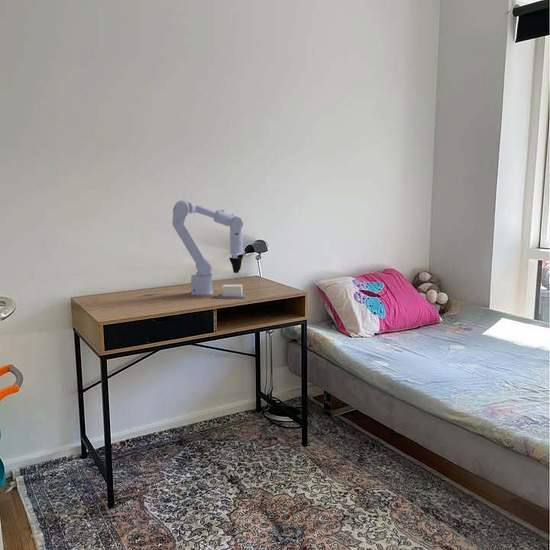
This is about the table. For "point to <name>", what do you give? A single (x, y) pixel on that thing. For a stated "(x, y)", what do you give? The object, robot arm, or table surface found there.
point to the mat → (230, 296)
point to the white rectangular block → (232, 290)
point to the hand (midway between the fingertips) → (237, 271)
